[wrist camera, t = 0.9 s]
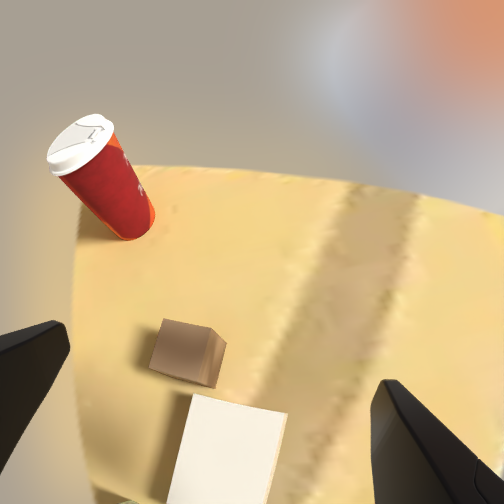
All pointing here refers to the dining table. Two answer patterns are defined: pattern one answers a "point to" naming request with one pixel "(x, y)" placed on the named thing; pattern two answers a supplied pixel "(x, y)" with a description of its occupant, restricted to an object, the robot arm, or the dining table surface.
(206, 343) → the walnut cube
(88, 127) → the paper cup
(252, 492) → the base slab
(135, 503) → the sage cube
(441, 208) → the dining table surface
